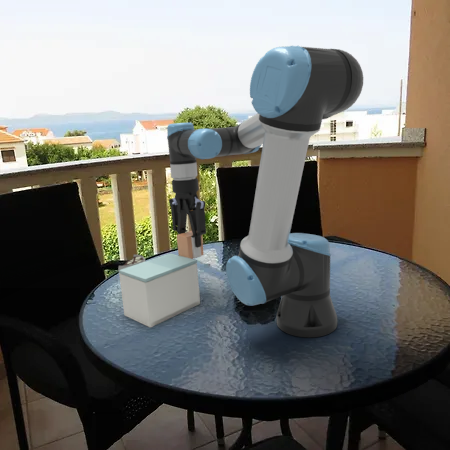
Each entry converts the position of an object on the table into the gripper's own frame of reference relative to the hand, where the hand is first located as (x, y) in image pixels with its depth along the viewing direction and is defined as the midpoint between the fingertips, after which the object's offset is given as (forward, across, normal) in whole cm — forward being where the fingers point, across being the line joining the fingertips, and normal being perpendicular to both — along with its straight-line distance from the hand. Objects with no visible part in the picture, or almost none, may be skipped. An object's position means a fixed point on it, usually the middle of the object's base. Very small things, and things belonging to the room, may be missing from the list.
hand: (191, 255), depth 123 cm
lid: (0, 0, +9) cm, 9 cm away
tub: (+13, 0, +12) cm, 18 cm away
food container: (+13, +19, +7) cm, 24 cm away
